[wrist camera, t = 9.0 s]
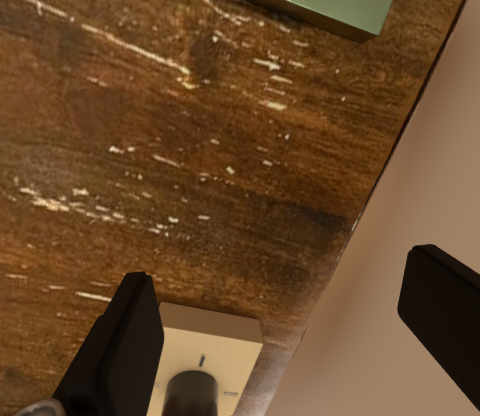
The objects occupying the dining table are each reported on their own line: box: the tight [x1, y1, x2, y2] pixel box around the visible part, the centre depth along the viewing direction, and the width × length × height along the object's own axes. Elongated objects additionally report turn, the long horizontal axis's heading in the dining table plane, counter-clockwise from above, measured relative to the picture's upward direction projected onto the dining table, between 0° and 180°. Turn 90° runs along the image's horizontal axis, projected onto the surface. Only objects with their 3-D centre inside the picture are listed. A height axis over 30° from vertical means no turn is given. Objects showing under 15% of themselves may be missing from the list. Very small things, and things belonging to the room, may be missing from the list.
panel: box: [147, 302, 263, 416], centre depth 27 cm, size 14×10×3 cm
